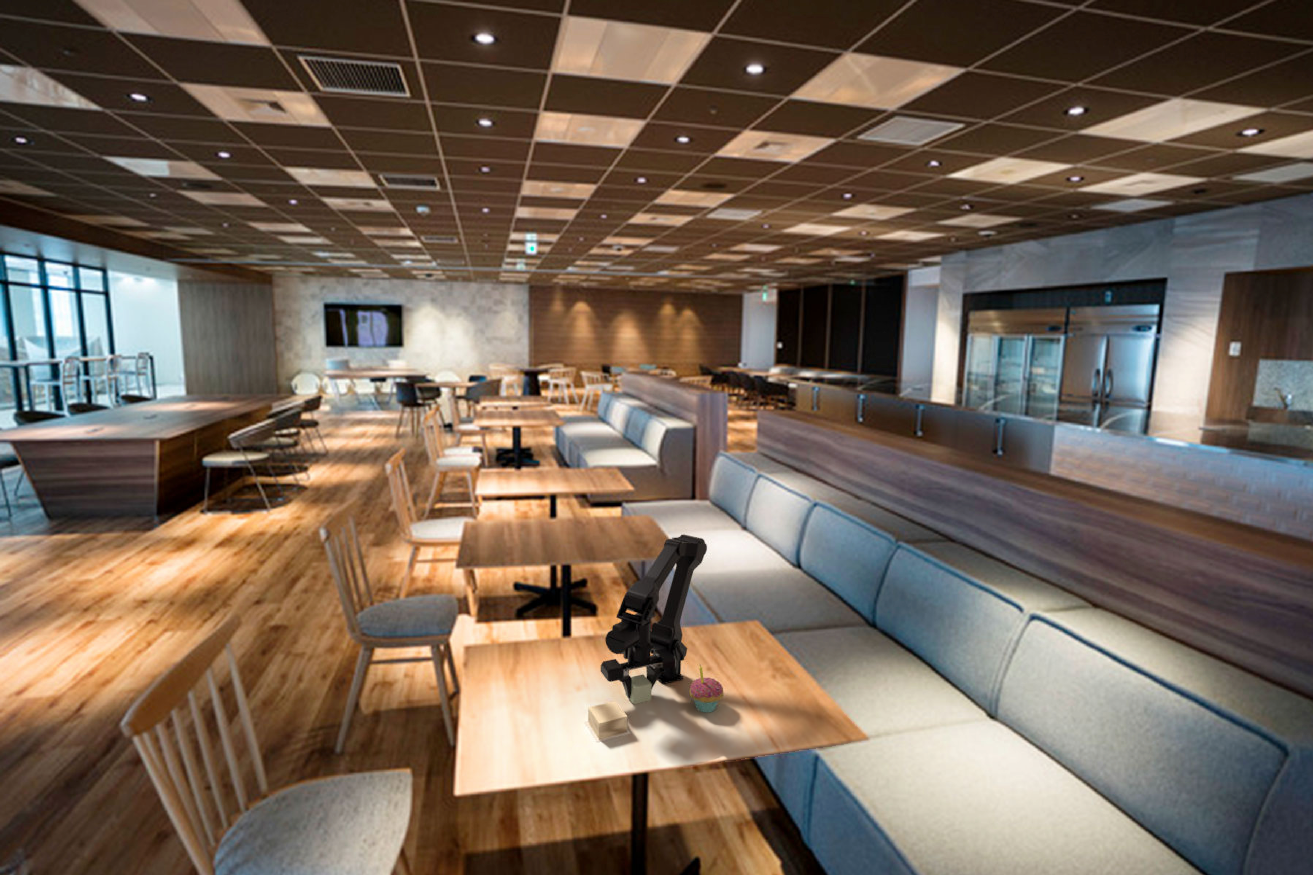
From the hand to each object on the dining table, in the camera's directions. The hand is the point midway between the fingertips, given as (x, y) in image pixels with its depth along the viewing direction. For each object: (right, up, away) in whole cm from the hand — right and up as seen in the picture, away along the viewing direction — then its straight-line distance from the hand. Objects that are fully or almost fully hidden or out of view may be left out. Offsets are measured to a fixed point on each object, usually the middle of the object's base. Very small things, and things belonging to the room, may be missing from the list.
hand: (638, 695), depth 169 cm
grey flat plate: (-5, -3, -12) cm, 13 cm away
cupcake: (+17, -2, -3) cm, 17 cm away
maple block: (-7, -2, -13) cm, 15 cm away
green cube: (0, -1, 0) cm, 1 cm away
